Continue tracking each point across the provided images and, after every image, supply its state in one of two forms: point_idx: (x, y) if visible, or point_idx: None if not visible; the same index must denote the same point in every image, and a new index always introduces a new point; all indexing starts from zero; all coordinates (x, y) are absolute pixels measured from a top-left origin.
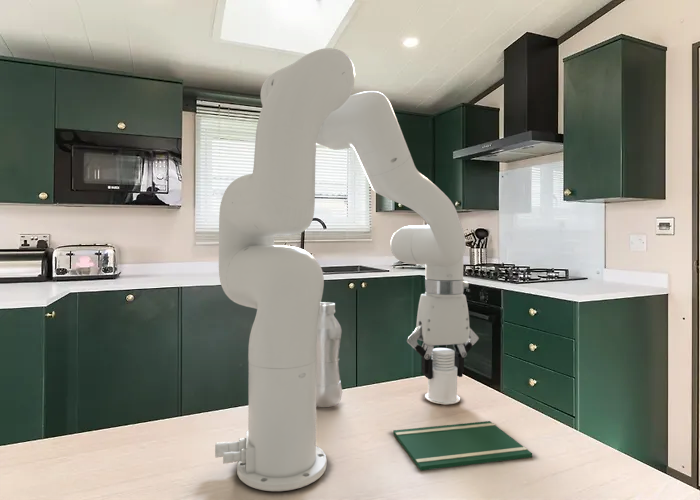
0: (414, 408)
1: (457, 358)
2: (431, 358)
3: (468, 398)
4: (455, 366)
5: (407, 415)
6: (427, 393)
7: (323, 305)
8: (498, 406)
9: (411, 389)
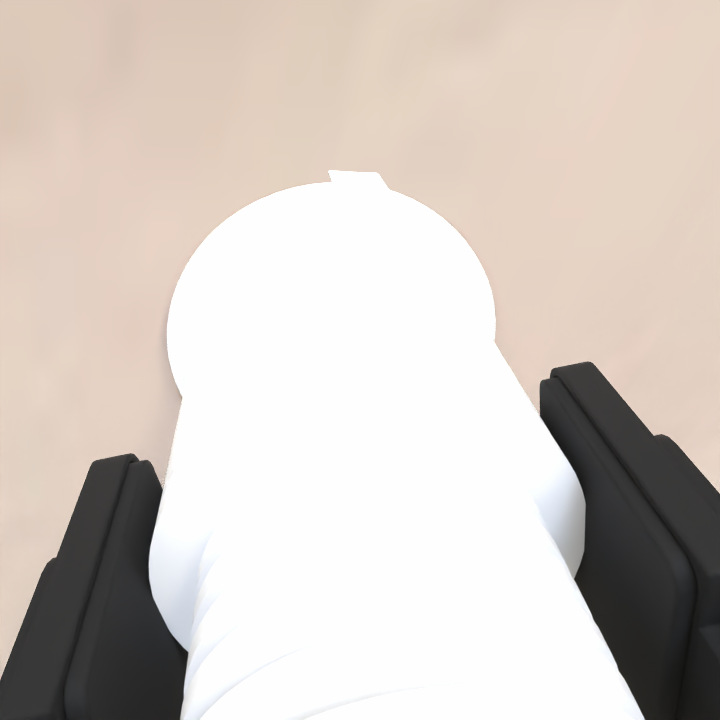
0: (64, 510)
1: (649, 689)
2: (185, 678)
3: (576, 312)
4: (582, 525)
5: (13, 606)
6: (201, 261)
7: None
8: (706, 454)
9: (18, 25)
